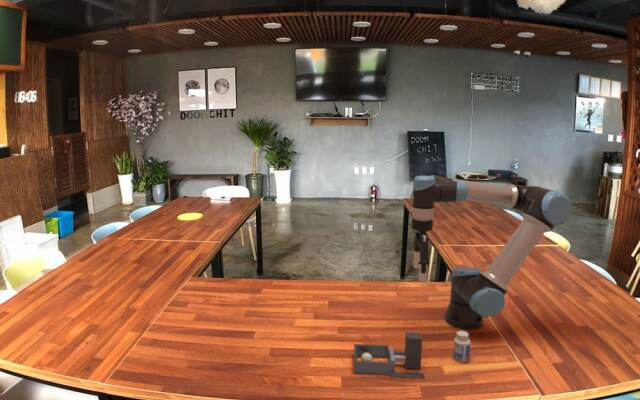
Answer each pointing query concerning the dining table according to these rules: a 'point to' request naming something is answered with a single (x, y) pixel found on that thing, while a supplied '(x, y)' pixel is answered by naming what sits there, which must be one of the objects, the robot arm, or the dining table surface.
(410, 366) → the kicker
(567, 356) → the dining table surface
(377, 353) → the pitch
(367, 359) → the ball
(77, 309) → the dining table surface
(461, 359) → the pill bottle
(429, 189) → the robot arm
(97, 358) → the dining table surface
